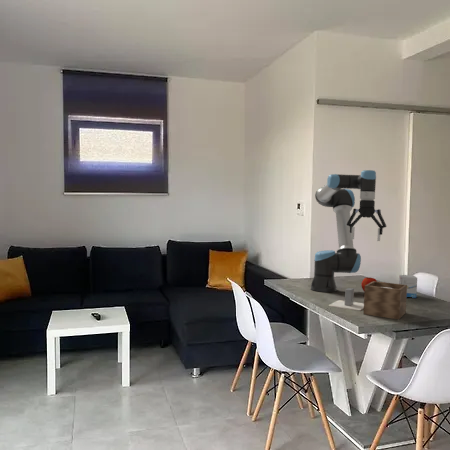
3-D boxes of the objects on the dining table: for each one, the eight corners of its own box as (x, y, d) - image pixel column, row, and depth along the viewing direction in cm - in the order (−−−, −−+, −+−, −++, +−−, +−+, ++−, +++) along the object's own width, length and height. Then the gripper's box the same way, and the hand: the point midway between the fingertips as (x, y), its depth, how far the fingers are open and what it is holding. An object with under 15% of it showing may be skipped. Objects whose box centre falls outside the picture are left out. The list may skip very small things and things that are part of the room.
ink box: (416, 298, 262) (417, 277, 262) (400, 297, 264) (401, 276, 263) (413, 295, 271) (414, 275, 270) (398, 294, 272) (399, 274, 272)
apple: (358, 295, 264) (359, 276, 264) (365, 293, 271) (366, 275, 270) (372, 298, 259) (373, 278, 258) (379, 296, 265) (380, 277, 264)
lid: (328, 307, 236) (329, 289, 235) (338, 301, 249) (339, 285, 249) (360, 311, 227) (361, 293, 227) (368, 306, 241) (369, 288, 240)
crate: (363, 314, 221) (364, 285, 220) (371, 307, 234) (373, 281, 234) (399, 319, 212) (400, 289, 212) (405, 312, 226) (407, 284, 225)
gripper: (341, 199, 250) (340, 238, 251) (390, 200, 237) (388, 242, 238) (346, 199, 256) (344, 238, 257) (393, 200, 243) (391, 241, 245)
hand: (365, 240), depth 248 cm, fingers open, 13 cm apart
